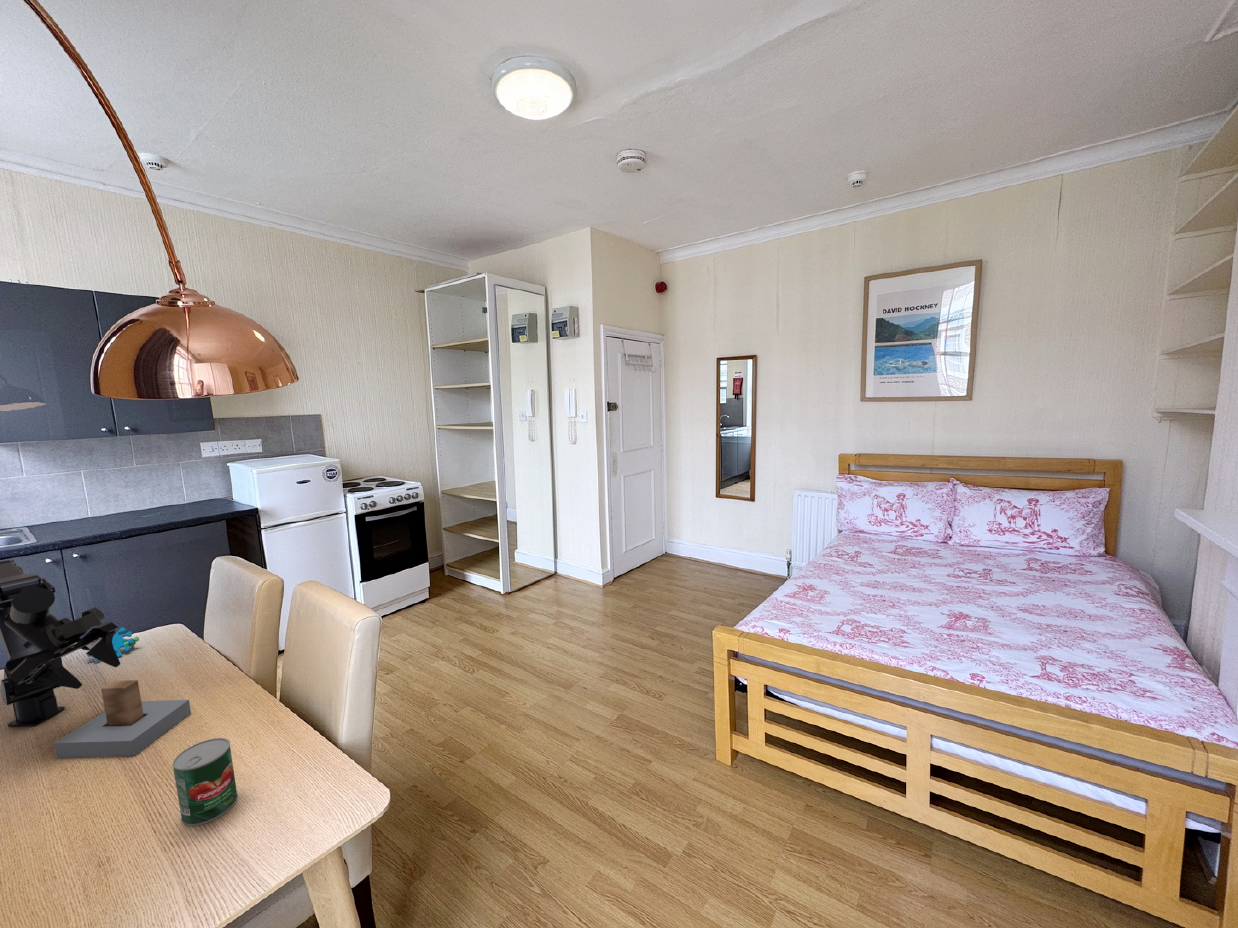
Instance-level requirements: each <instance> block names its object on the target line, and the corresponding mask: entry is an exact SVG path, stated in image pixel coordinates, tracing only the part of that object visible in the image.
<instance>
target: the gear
mask: <svg viewBox="0 0 1238 928" xmlns="http://www.w3.org/2000/svg"><path fill="white" fill-rule="evenodd" d="M125 632H126V628H125V627H120V628H119V630H118V631H116V634H115V635H114V636H113V639H112V644H113V647H114V650H115V652H116V654H117V657H118V658H120V657H122V656H123V653H122V652H121V651H120V650H121V649H124V652H128V651H130V650H131V649H134V648H135V645H136V644H137V642H139V641H140V637H139V636H135V637H133V638H131V637H132V636H133V634H132V631H127V632H126V633H125ZM123 633H124V634H123ZM126 637H127V638H126ZM133 647H134V648H133ZM86 656H87V657H88V658H90V657H91V656H90V655H88V654H86ZM92 658H93V660H94V661H95V662H98V661H99V660H98V659H96V658H94V657H92Z"/></svg>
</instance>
